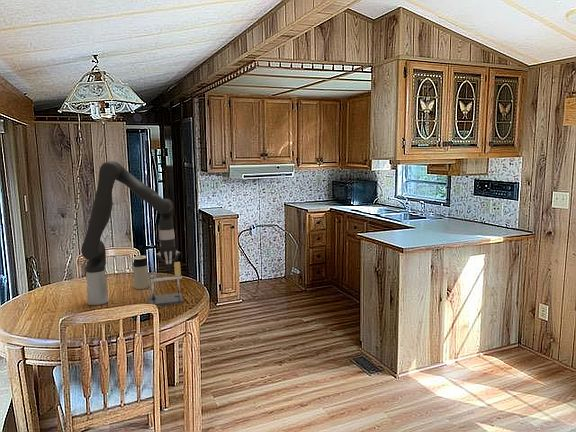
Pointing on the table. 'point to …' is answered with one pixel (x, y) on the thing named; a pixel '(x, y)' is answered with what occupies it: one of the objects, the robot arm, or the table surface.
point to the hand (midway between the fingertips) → (169, 270)
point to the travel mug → (140, 272)
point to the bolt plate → (166, 298)
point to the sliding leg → (177, 273)
